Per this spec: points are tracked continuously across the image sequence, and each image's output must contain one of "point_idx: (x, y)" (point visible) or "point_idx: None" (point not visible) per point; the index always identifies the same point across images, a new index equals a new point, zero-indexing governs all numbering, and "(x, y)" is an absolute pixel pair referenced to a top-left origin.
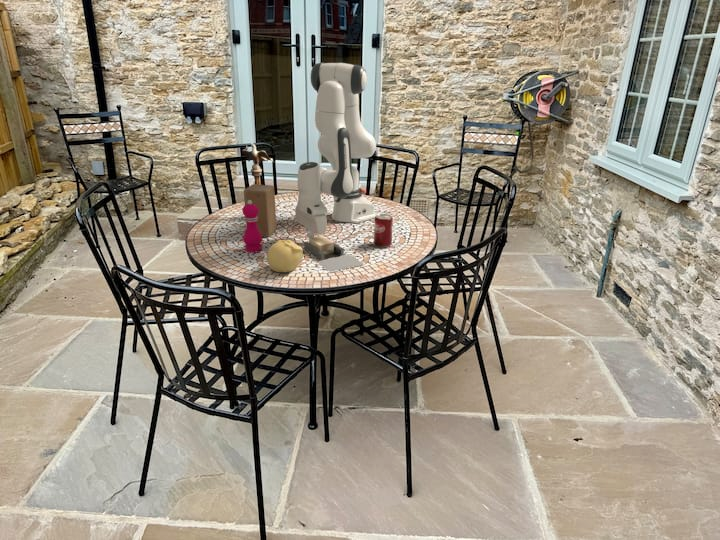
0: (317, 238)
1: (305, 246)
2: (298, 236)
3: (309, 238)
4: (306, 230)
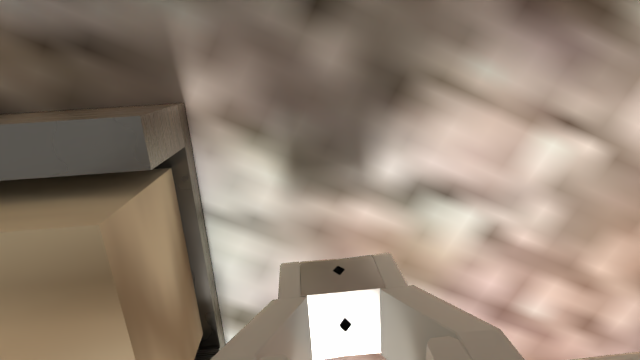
0: (32, 352)
1: (126, 110)
2: (621, 201)
3: (77, 228)
4: (435, 318)
